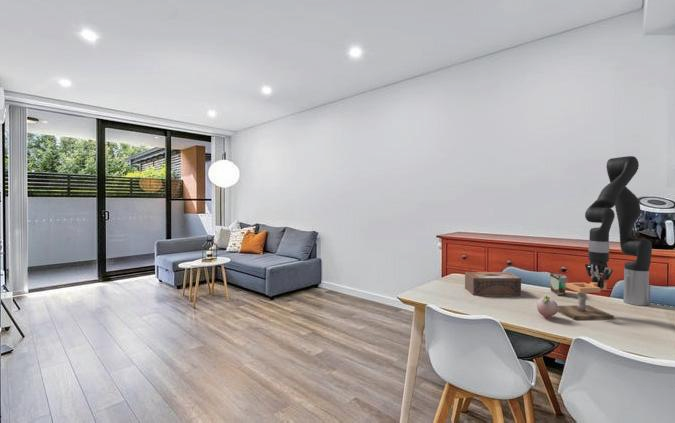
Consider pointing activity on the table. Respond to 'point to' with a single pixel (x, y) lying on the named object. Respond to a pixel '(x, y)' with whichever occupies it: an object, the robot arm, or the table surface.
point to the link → (585, 287)
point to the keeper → (583, 310)
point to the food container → (558, 284)
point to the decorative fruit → (547, 307)
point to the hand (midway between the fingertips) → (597, 287)
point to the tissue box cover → (493, 283)
